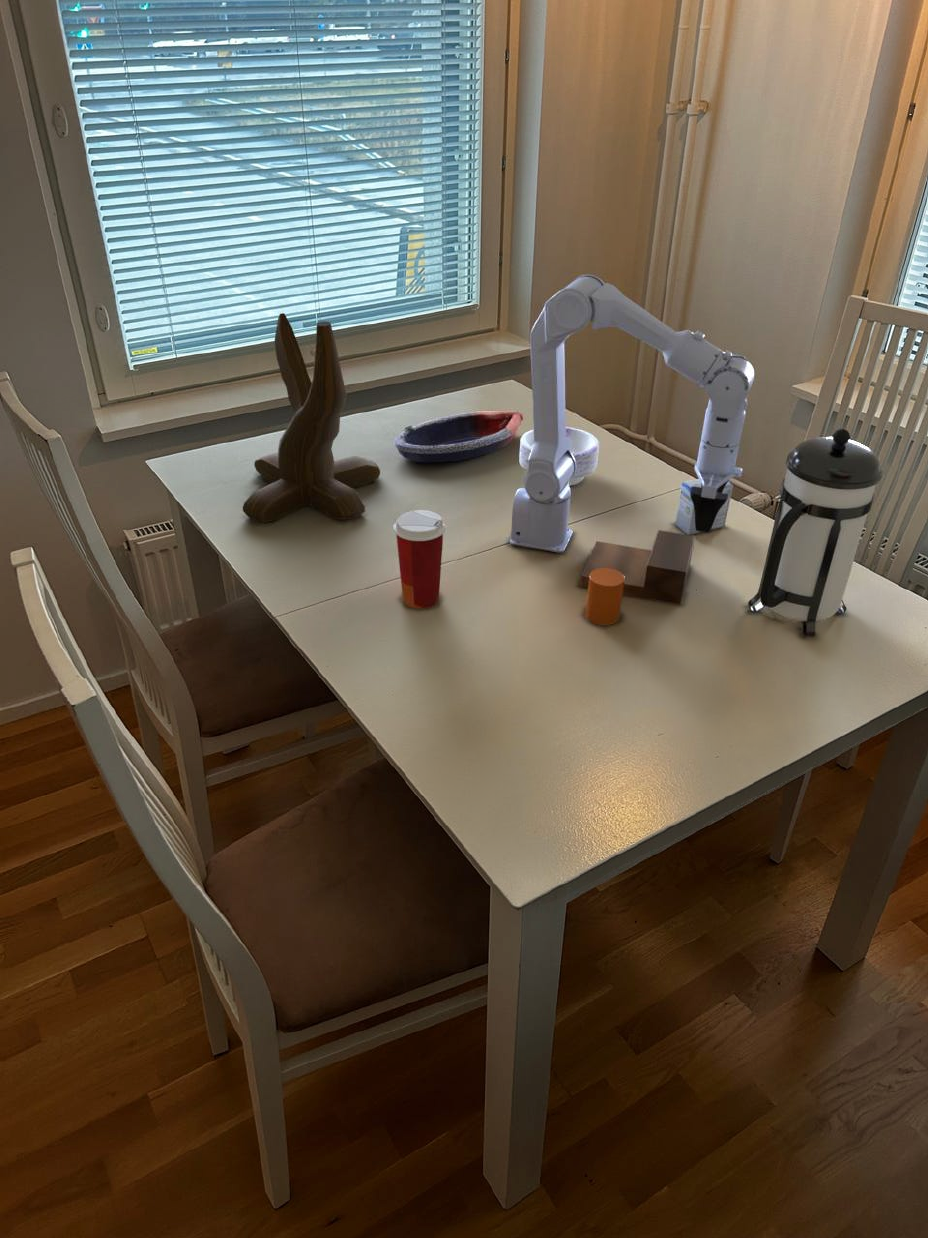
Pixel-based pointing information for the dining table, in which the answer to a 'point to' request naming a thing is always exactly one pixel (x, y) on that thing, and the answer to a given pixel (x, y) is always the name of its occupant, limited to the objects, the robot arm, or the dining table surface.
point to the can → (604, 596)
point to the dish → (458, 436)
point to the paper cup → (420, 556)
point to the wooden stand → (310, 438)
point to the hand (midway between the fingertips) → (705, 519)
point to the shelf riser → (647, 566)
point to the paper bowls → (581, 448)
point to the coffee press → (817, 528)
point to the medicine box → (687, 512)
